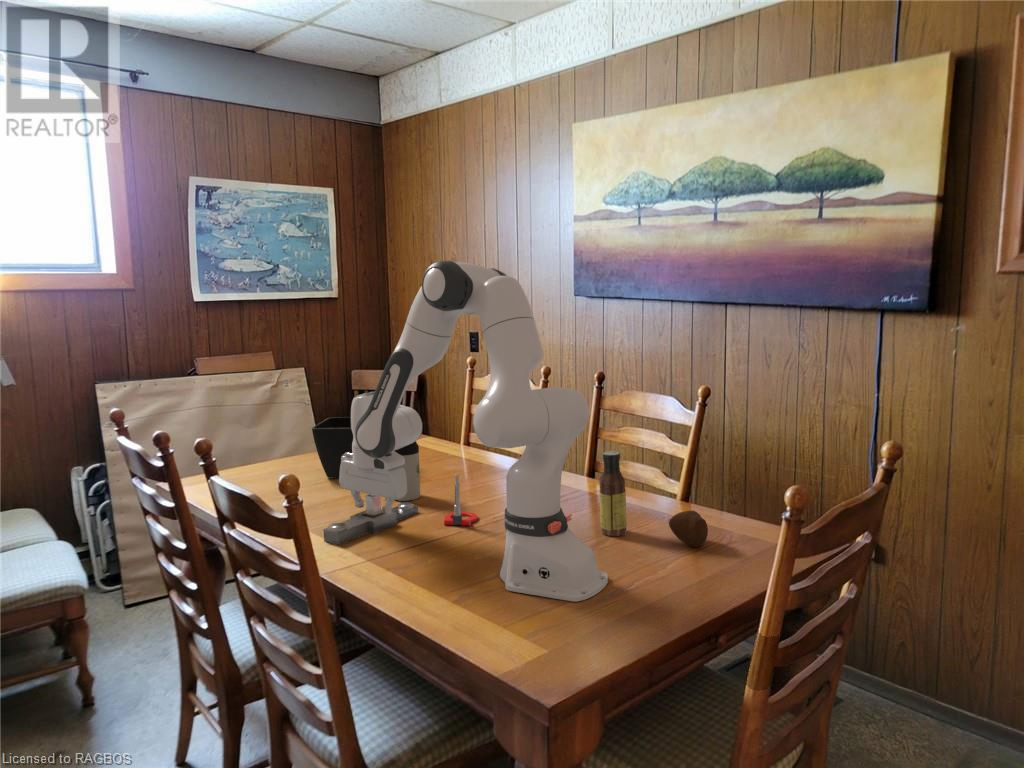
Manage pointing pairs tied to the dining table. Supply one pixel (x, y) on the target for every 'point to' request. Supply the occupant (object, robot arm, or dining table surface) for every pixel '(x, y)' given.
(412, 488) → the travel mug
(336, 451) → the flower pot
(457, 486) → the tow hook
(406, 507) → the chain end
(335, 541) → the bar
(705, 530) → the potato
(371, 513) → the pin
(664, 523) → the dining table surface
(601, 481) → the sauce bottle
